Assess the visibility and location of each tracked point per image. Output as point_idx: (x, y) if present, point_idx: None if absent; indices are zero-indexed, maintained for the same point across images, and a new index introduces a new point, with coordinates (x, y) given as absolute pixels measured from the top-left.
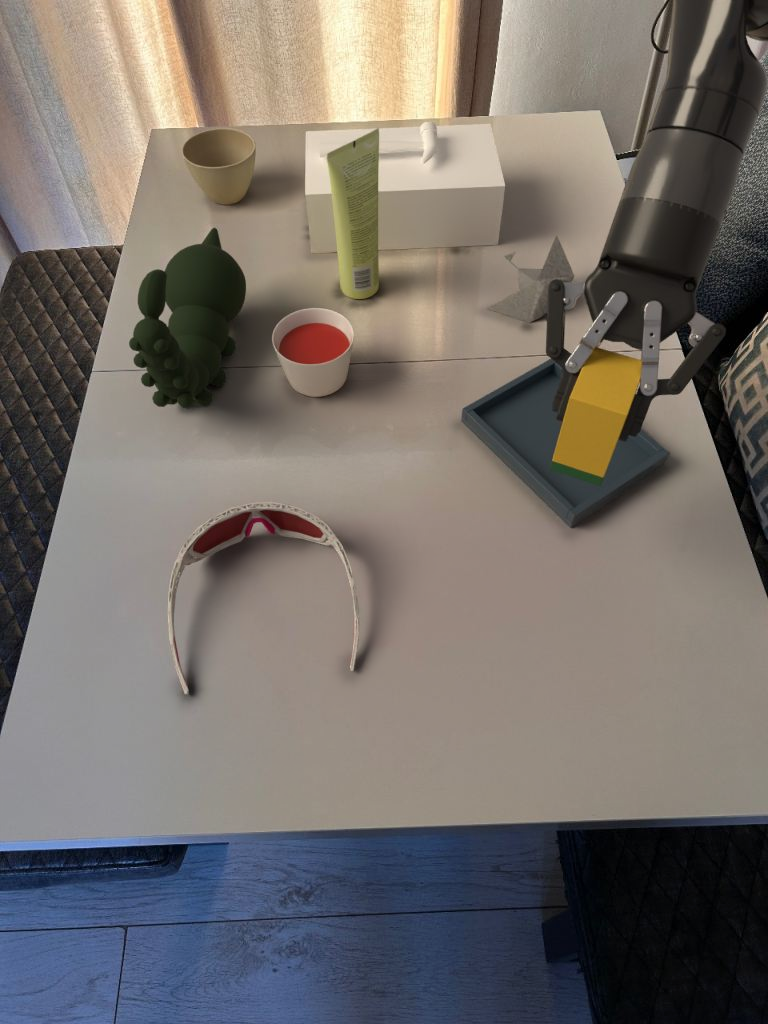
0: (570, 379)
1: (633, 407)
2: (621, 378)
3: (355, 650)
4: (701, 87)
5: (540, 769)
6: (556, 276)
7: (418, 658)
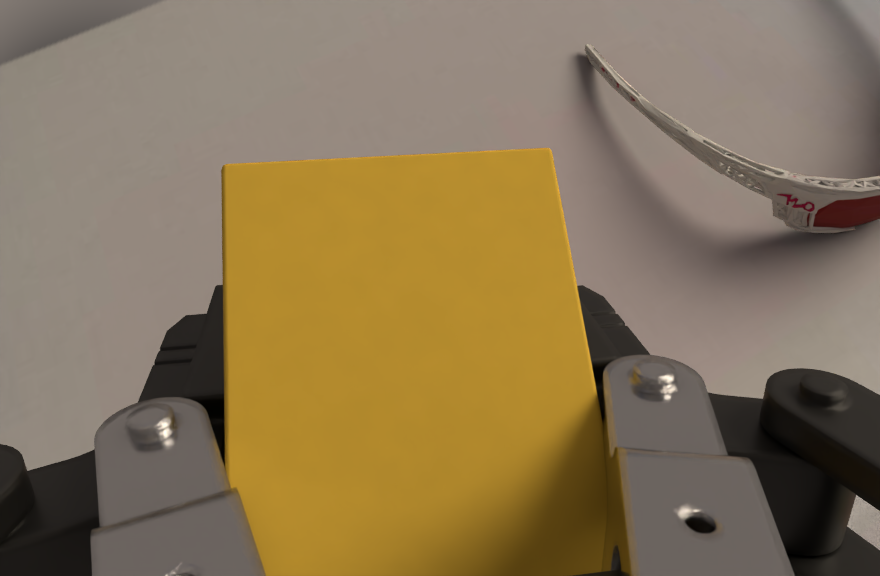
0: (608, 344)
1: (222, 353)
2: (342, 414)
3: (604, 63)
4: None
5: (231, 40)
6: None
7: (503, 115)
